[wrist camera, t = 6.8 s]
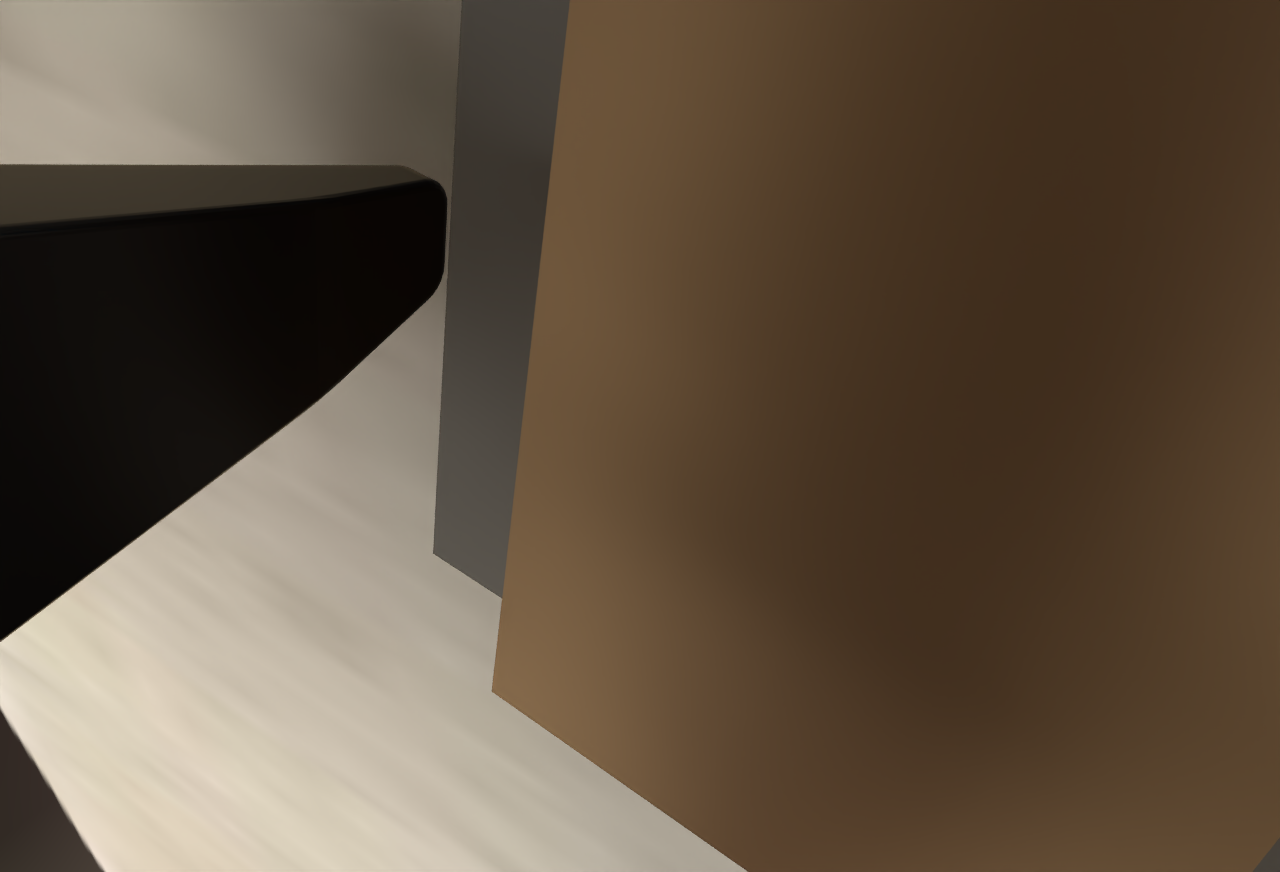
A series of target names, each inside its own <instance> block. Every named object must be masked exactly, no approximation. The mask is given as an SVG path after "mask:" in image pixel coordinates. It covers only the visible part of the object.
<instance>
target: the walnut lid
mask: <svg viewBox="0 0 1280 872" xmlns="http://www.w3.org/2000/svg"><path fill="white" fill-rule="evenodd" d="M492 692H493V693H495V694H496V695H498V696H499V697H500V698H502V699H503V700H505V701H506V702H508V703H509V704H510V705H512V706H513V707H515V708H516V709H518V710H519V711H520V712H522V713H523V714H525V715H526V716H527V717H529V718H530V719H532V720H533V721H535V722H536V723H537V724H539V725H540V726H542V727H543V728H545V729H546V730H547V731H549V732H550V733H552V734H553V735H554V736H556V737H557V738H559V739H560V740H562V741H563V742H564V743H566V744H567V745H569V746H570V747H572V748H573V749H574V750H576V751H577V752H579V753H580V754H582V755H583V756H584V757H586V758H587V759H589V760H590V761H591V762H593V763H594V764H596V765H597V766H599V767H600V768H601V769H603V770H604V771H606V772H607V773H609V774H610V775H611V776H613V777H614V778H616V779H617V780H618V781H620V782H621V783H623V784H624V785H626V786H627V787H628V788H630V789H631V790H633V791H634V792H636V793H637V794H638V795H640V796H641V797H643V798H644V799H645V800H647V801H648V802H650V803H651V804H653V805H654V806H655V807H657V808H658V809H660V810H661V811H663V812H664V813H665V814H667V815H668V816H670V817H671V818H673V819H674V820H675V821H677V822H678V823H680V824H681V825H682V826H684V827H685V828H687V829H688V830H690V831H691V832H692V833H694V834H695V835H697V836H698V837H700V838H701V839H702V840H704V841H705V842H707V843H708V844H709V845H711V846H712V847H714V848H715V849H717V850H718V851H719V852H721V853H722V854H724V855H725V856H727V857H728V858H729V859H731V860H732V861H734V862H735V863H736V864H738V865H739V866H741V867H742V868H744V869H745V870H746V871H748V872H1253V870H1254V869H1255V868H1256V867H1257V865H1258V864H1259V863H1260V861H1261V860H1262V859H1263V858H1264V856H1265V855H1266V854H1267V853H1268V851H1269V850H1270V849H1271V848H1272V846H1273V845H1274V844H1275V843H1276V841H1277V840H1278V839H1279V838H1280V0H570V4H569V13H568V22H567V31H566V40H565V48H564V57H563V66H562V75H561V84H560V93H559V101H558V110H557V119H556V128H555V137H554V146H553V155H552V163H551V172H550V181H549V190H548V199H547V208H546V216H545V225H544V234H543V243H542V252H541V261H540V269H539V278H538V287H537V296H536V305H535V314H534V322H533V331H532V340H531V349H530V358H529V367H528V375H527V384H526V393H525V402H524V411H523V420H522V428H521V437H520V446H519V455H518V464H517V473H516V482H515V490H514V499H513V508H512V517H511V526H510V535H509V543H508V552H507V561H506V570H505V579H504V588H503V596H502V605H501V614H500V623H499V632H498V641H497V649H496V658H495V667H494V676H493V685H492Z"/></svg>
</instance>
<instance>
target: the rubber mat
mask: <svg viewBox="0 0 1280 872" xmlns="http://www.w3.org/2000/svg"><path fill="white" fill-rule="evenodd" d="M569 4H570V0H462V10H461V29H460V48H459V67H458V87H457V106H456V125H455V144H454V163H453V183H452V202H451V221H450V240H449V259H448V279H447V298H446V317H445V336H444V356H443V375H442V394H441V413H440V432H439V452H438V471H437V490H436V509H435V528H434V548H433V554H435V555H436V556H438V557H439V558H441V559H442V560H444V561H446V562H447V563H449V564H450V565H452V566H453V567H455V568H456V569H458V570H459V571H461V572H462V573H464V574H465V575H467V576H469V577H470V578H472V579H473V580H475V581H476V582H478V583H479V584H481V585H482V586H484V587H485V588H487V589H488V590H490V591H492V592H493V593H495V594H496V595H498V596H499V597H501V598H502V596H503V588H504V579H505V570H506V561H507V552H508V543H509V535H510V526H511V517H512V508H513V499H514V490H515V482H516V473H517V464H518V455H519V446H520V437H521V428H522V420H523V411H524V402H525V393H526V384H527V375H528V367H529V358H530V349H531V340H532V331H533V322H534V314H535V305H536V296H537V287H538V278H539V269H540V261H541V252H542V243H543V234H544V225H545V216H546V208H547V199H548V190H549V181H550V172H551V163H552V155H553V146H554V137H555V128H556V119H557V110H558V101H559V93H560V84H561V75H562V66H563V57H564V48H565V40H566V31H567V22H568V13H569ZM1253 872H1280V838H1279V839H1278V840H1277V841H1276V843H1275V844H1274V845H1273V846H1272V848H1271V849H1270V850H1269V851H1268V853H1267V854H1266V855H1265V856H1264V858H1263V859H1262V860H1261V861H1260V863H1259V864H1258V865H1257V867H1256V868H1255V869H1254V870H1253Z"/></svg>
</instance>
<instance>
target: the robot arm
mask: <svg viewBox="0 0 1280 872" xmlns="http://www.w3.org/2000/svg"><path fill="white" fill-rule="evenodd" d="M446 224H447V197H446V193H445V191H444V189H443V187H442V186H441V185H440V184H439V183H438V182H437V181H435V180H433V179H431V178H429V177H427V176H425V175H423V174H421V173H419V172H417V171H415V170H413V169H411V168H409V167H405V166H398V165H26V164H0V642H1V641H2V640H4V639H5V638H6V637H8V636H9V635H10V634H12V633H13V632H14V631H16V630H17V629H18V628H20V627H21V626H22V625H23V624H25V623H26V622H27V621H29V620H30V619H31V618H33V617H34V616H35V615H37V614H38V613H39V612H41V611H42V610H43V609H45V608H46V607H47V606H49V605H50V604H51V603H53V602H54V601H55V600H57V599H58V598H59V597H61V596H62V595H63V594H64V593H66V592H67V591H68V590H70V589H71V588H72V587H74V586H75V585H76V584H78V583H79V582H80V581H82V580H83V579H84V578H86V577H87V576H88V575H90V574H91V573H92V572H94V571H95V570H96V569H98V568H99V567H100V566H102V565H103V564H104V563H106V562H107V561H108V560H109V559H111V558H112V557H113V556H115V555H116V554H117V553H119V552H120V551H121V550H123V549H124V548H125V547H127V546H128V545H129V544H131V543H132V542H133V541H135V540H136V539H137V538H139V537H140V536H141V535H143V534H144V533H145V532H147V531H148V530H149V529H150V528H152V527H153V526H154V525H156V524H157V523H158V522H160V521H161V520H162V519H164V518H165V517H166V516H168V515H169V514H170V513H172V512H173V511H174V510H176V509H177V508H178V507H180V506H181V505H182V504H184V503H185V502H186V501H188V500H189V499H190V498H191V497H193V496H194V495H195V494H197V493H198V492H199V491H201V490H202V489H203V488H205V487H206V486H207V485H209V484H210V483H211V482H213V481H214V480H215V479H217V478H218V477H219V476H221V475H222V474H223V473H225V472H226V471H227V470H229V469H230V468H231V467H233V466H234V465H235V464H236V463H238V462H239V461H240V460H242V459H243V458H244V457H246V456H247V455H248V454H250V453H251V452H252V451H254V450H255V449H256V448H258V447H259V446H260V445H262V444H263V443H264V442H266V441H267V440H268V439H270V438H271V437H272V436H274V435H275V434H276V433H277V432H279V431H280V430H281V429H283V428H284V427H285V426H287V425H288V424H289V423H291V422H292V421H293V420H295V419H296V418H297V417H299V416H300V415H301V414H302V413H304V412H305V411H306V410H307V409H309V408H310V407H311V406H312V405H314V404H315V403H316V402H318V401H319V400H320V399H321V398H322V397H323V396H324V395H326V394H327V393H328V392H329V391H330V390H331V389H332V388H334V387H335V386H336V385H337V384H338V383H339V382H340V381H341V380H342V379H343V378H344V377H346V376H347V375H348V374H349V373H350V372H351V371H352V370H353V369H354V368H355V367H356V366H357V365H358V364H360V363H361V362H362V361H363V360H364V359H365V358H366V357H367V356H368V355H369V354H370V353H371V352H372V351H373V350H375V349H376V348H377V347H378V346H379V345H380V344H381V343H382V342H383V341H384V340H385V339H386V338H387V337H388V336H390V335H391V334H392V333H393V332H394V331H395V330H396V329H397V328H398V327H399V326H400V325H401V324H402V323H404V322H405V321H406V320H407V319H408V318H409V317H410V316H411V315H412V314H413V313H414V312H415V311H416V310H417V309H419V308H420V307H421V306H422V305H423V304H424V303H425V302H426V301H427V300H428V299H429V298H430V297H431V296H432V295H433V294H434V292H435V291H436V289H437V288H438V286H439V284H440V282H441V279H442V276H443V272H444V263H445V243H446Z"/></svg>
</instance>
